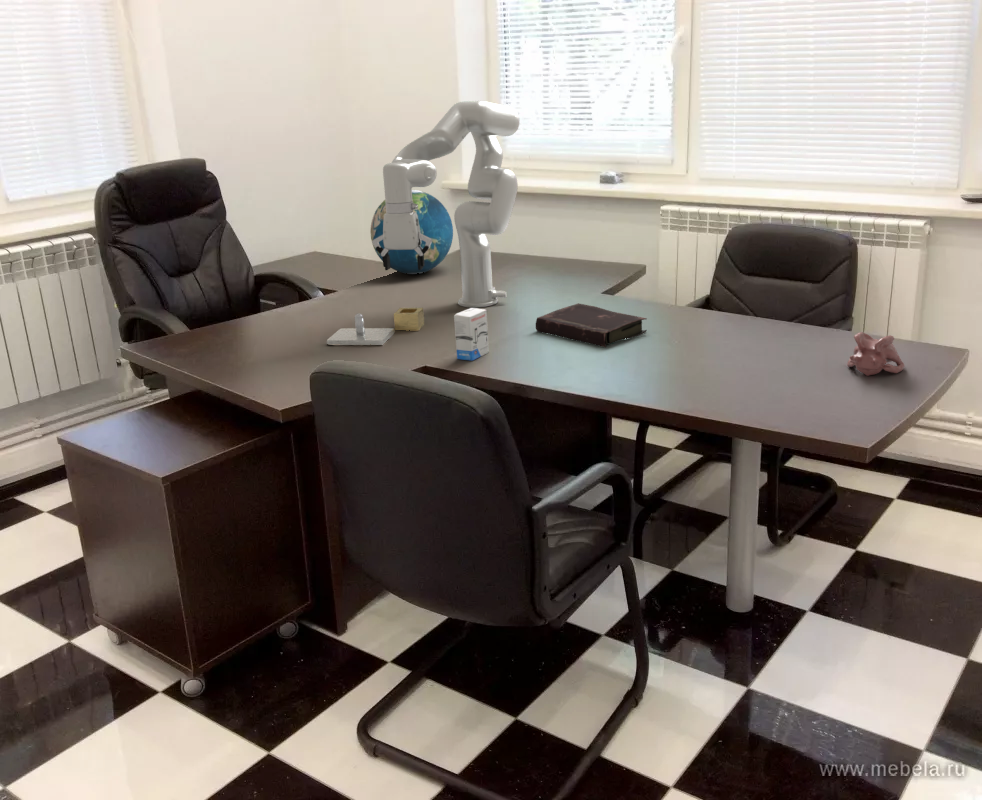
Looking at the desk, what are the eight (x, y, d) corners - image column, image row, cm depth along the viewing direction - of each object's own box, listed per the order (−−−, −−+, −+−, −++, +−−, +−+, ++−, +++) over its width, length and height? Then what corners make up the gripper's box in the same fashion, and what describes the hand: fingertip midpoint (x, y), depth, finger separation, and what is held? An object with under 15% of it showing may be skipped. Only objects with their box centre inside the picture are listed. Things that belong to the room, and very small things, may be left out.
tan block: (424, 324, 274) (423, 307, 273) (418, 330, 268) (417, 313, 266) (401, 324, 276) (399, 307, 274) (395, 330, 269) (393, 314, 267)
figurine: (848, 379, 222) (833, 366, 210) (857, 337, 223) (843, 322, 211) (902, 386, 216) (890, 374, 203) (911, 344, 216) (899, 328, 204)
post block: (394, 333, 267) (392, 307, 264) (382, 345, 256) (380, 319, 253) (341, 333, 270) (338, 308, 267) (327, 345, 258) (324, 319, 256)
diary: (603, 350, 243) (603, 332, 242) (535, 334, 261) (534, 317, 259) (648, 333, 255) (648, 315, 253) (580, 319, 272) (580, 302, 271)
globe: (465, 264, 351) (460, 183, 341) (440, 282, 325) (434, 195, 314) (392, 264, 359) (385, 185, 349) (361, 282, 333) (353, 196, 322)
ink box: (472, 361, 238) (469, 316, 234) (455, 359, 240) (452, 315, 236) (489, 352, 245) (487, 308, 241) (474, 350, 247) (471, 306, 243)
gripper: (432, 205, 262) (436, 266, 268) (373, 207, 265) (378, 266, 271) (426, 209, 255) (430, 271, 261) (365, 211, 258) (371, 272, 264)
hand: (404, 269), depth 266 cm, fingers open, 9 cm apart
